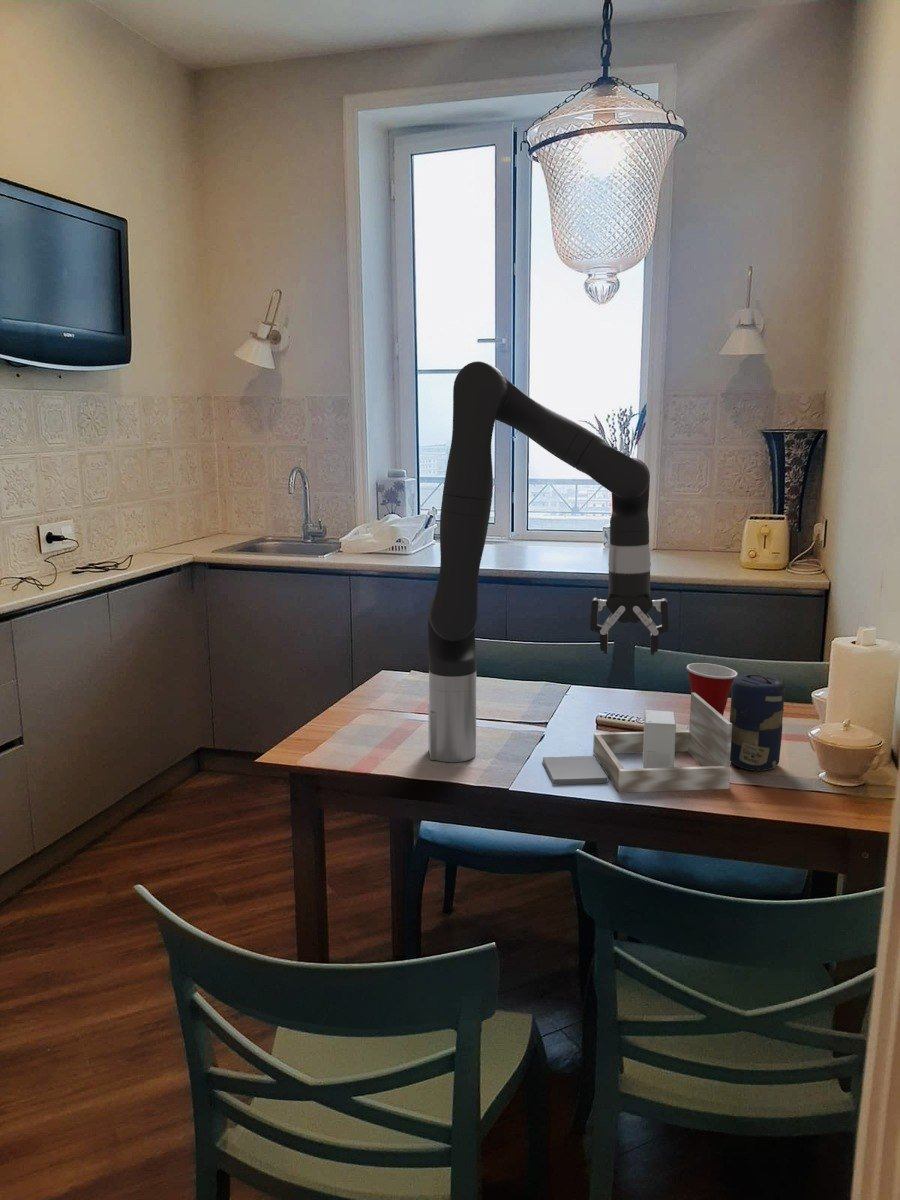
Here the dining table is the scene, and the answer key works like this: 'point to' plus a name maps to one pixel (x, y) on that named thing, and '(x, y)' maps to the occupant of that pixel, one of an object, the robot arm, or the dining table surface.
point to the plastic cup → (711, 683)
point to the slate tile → (574, 770)
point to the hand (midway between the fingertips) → (629, 653)
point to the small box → (659, 739)
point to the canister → (756, 721)
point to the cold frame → (701, 740)
